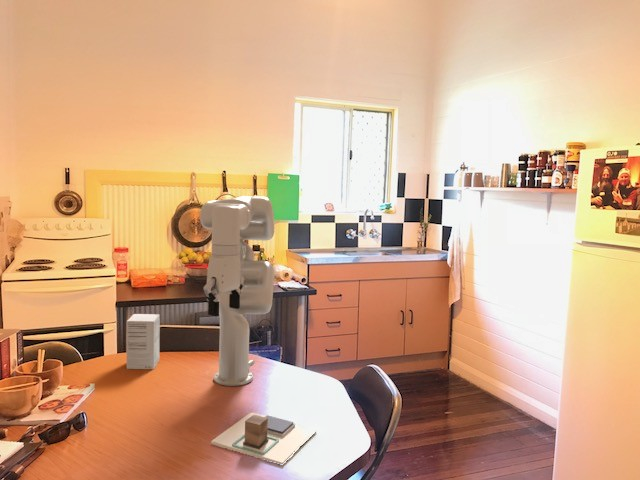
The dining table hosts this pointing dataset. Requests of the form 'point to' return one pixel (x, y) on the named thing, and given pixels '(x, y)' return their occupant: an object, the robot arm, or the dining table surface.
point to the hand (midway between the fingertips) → (224, 311)
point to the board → (277, 433)
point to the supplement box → (143, 341)
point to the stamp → (256, 431)
